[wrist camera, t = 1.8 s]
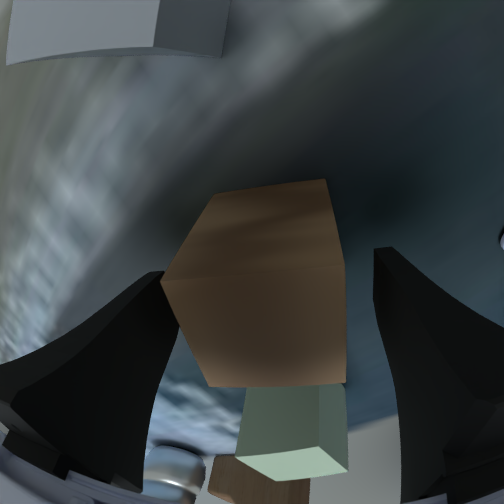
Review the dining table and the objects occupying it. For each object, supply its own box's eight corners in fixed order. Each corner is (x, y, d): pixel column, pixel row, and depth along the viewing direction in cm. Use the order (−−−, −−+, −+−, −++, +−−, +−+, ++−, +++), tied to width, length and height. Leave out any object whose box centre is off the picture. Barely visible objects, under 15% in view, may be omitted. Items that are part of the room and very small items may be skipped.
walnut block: (325, 178, 12) (344, 264, 7) (334, 273, 14) (345, 382, 9) (214, 193, 13) (160, 281, 8) (238, 282, 15) (209, 386, 10)
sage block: (318, 349, 17) (318, 446, 12) (344, 388, 19) (348, 471, 14) (250, 369, 19) (234, 457, 13) (283, 404, 20) (276, 481, 15)
